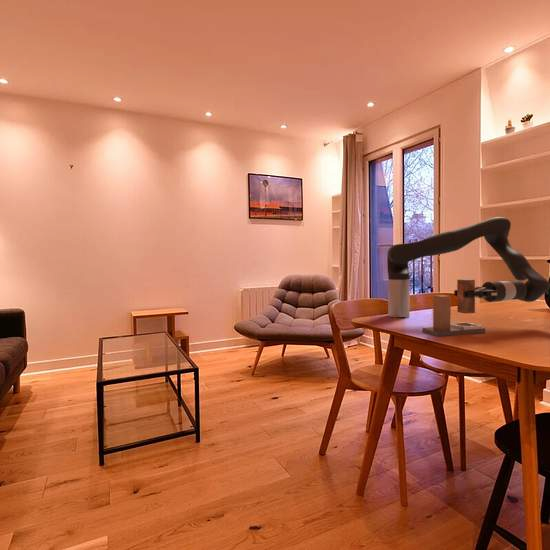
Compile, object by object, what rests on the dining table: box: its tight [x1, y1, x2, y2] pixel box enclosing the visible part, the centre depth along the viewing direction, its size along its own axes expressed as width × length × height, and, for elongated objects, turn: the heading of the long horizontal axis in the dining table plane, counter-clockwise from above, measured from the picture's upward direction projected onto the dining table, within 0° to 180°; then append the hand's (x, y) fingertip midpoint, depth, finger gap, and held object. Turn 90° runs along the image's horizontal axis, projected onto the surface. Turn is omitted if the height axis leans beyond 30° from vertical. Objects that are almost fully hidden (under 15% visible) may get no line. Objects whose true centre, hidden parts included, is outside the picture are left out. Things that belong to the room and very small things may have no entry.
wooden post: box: [456, 278, 476, 314], centre depth 134 cm, size 4×4×12 cm
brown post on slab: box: [421, 294, 486, 337], centre depth 133 cm, size 20×8×14 cm, turn 104°
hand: (459, 293), depth 133 cm, fingers closed on wooden post, 4 cm apart
